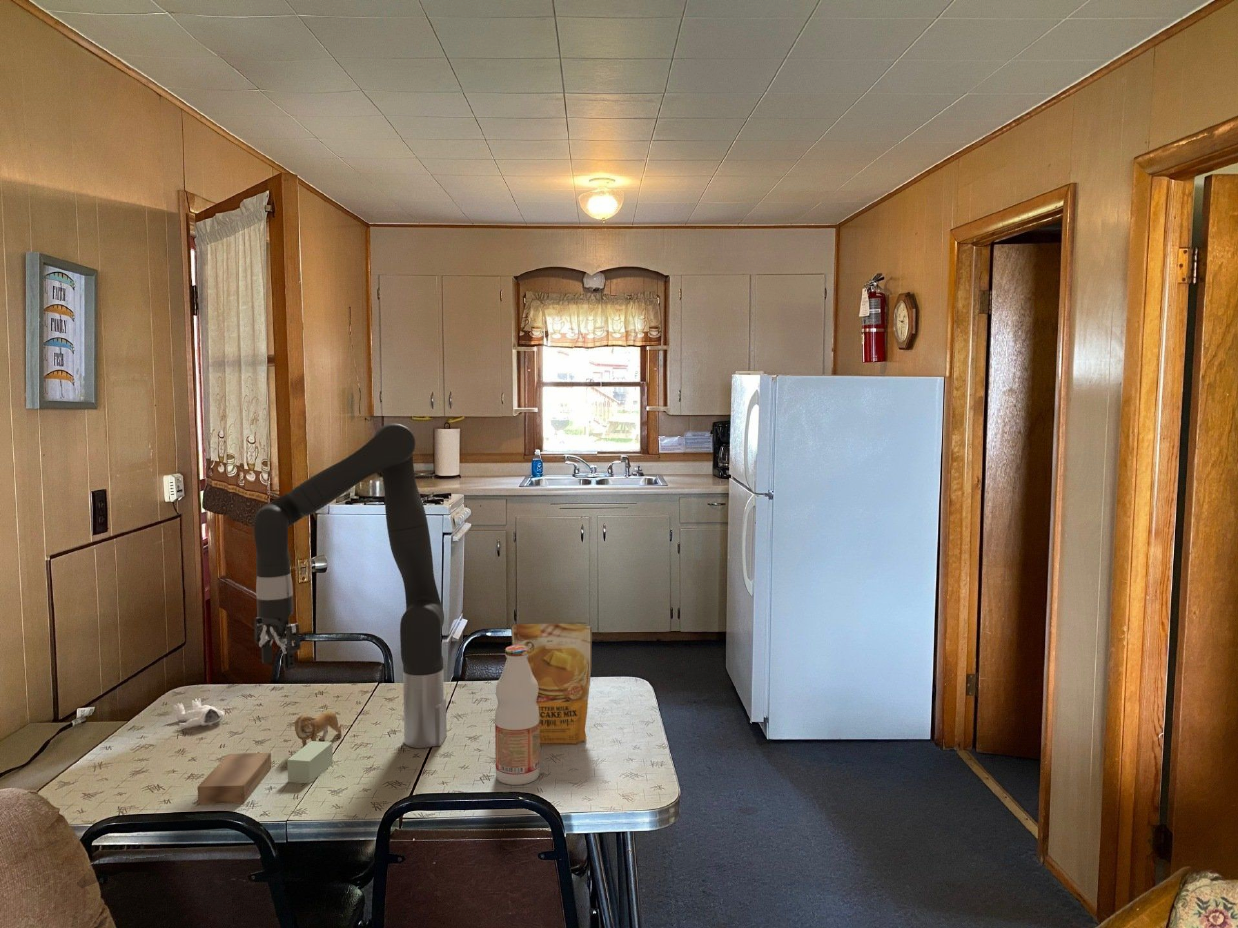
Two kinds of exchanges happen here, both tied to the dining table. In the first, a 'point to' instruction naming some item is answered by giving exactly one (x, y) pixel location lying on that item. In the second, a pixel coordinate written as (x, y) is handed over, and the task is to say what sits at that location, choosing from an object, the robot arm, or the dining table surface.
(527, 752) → the fruit juice
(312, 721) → the lion figurine
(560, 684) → the pancake mix bag
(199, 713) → the toy creature
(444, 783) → the dining table surface
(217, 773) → the walnut brick
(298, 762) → the sage brick
